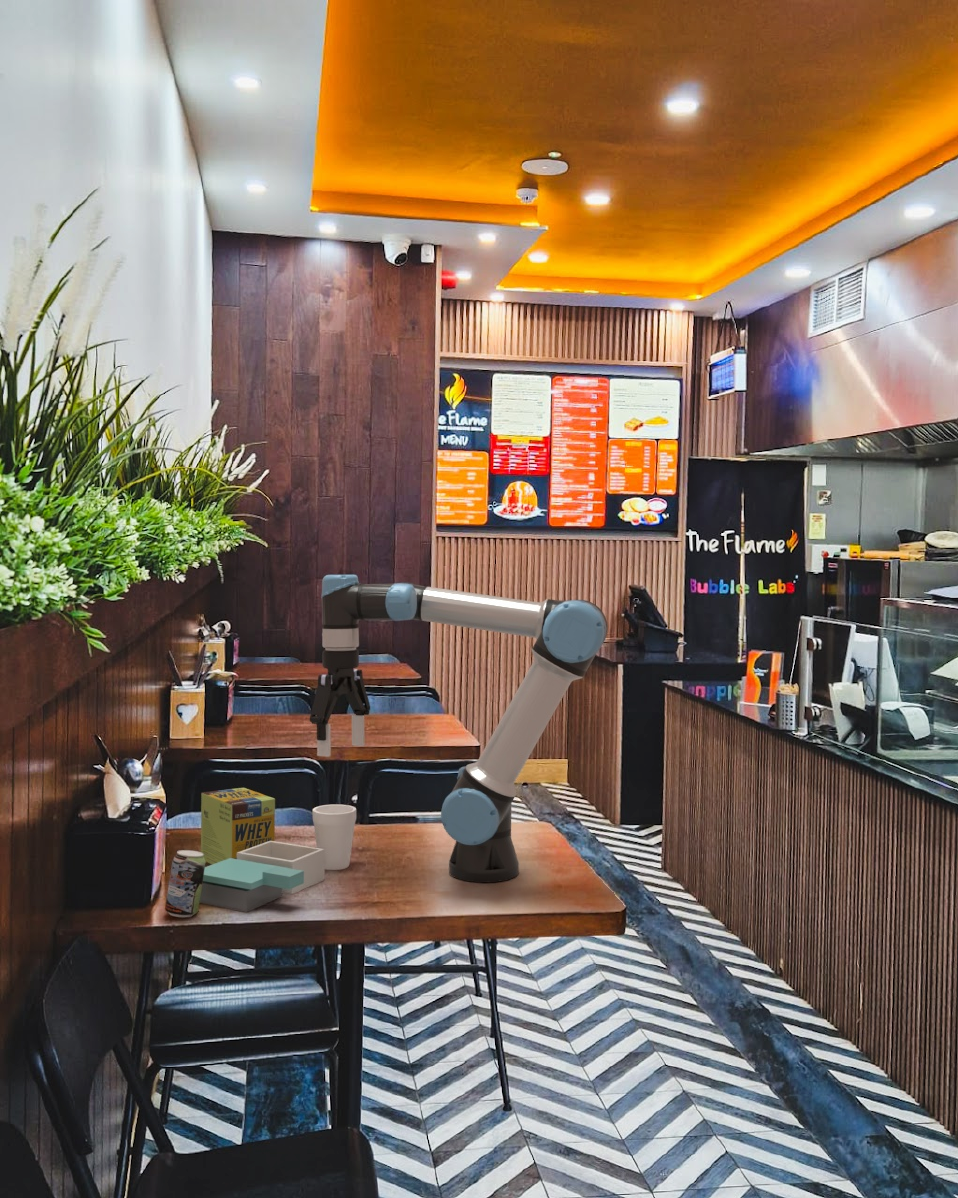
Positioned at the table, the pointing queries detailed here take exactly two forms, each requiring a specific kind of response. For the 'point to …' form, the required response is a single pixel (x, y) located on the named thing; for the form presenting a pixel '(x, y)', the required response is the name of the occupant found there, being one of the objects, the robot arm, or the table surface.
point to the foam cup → (335, 834)
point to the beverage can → (185, 883)
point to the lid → (252, 874)
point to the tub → (289, 860)
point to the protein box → (234, 822)
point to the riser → (237, 896)
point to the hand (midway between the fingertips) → (341, 751)
